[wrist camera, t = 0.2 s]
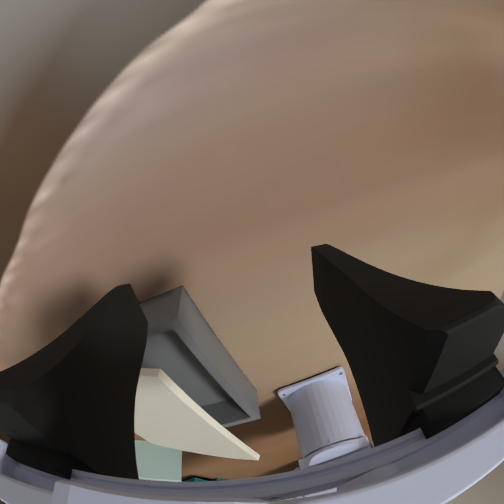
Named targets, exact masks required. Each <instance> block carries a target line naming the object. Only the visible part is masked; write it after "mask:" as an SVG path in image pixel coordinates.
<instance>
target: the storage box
mask: <svg viewBox="0 0 504 504" xmlns="http://www.w3.org/2000/svg"><path fill="white" fill-rule="evenodd" d="M139 304H140V306H141V309H142V311H143V313H144V315H145V317H146V319H147V321H148V333H147V343H146V348H145V353H144V357H143V362H142V366H141V368H154V369H161V370H162V371H163V372H164V373H165V374H166V375H167V376H168V377H169V378H170V379H171V380H172V381H173V382H174V383H175V384H176V385H177V386H178V387H179V388H180V389H181V390H183V391H184V392H185V393H186V394H187V395H188V396H189V397H190V398H191V399H192V400H193V401H194V402H195V403H196V404H197V405H199V406H200V407H201V408H202V409H203V410H204V411H205V412H206V413H208V414H209V415H210V416H211V417H212V418H213V419H214V420H216V421H217V422H218V423H219V424H220V425H222V426H223V427H224V428H225V427H229V426H234V425H238V424H242V423H246V422H250V421H254V420H257V419H261V416H260V410H259V403H258V397H257V390H256V389H255V387H254V386H253V385H252V383H251V382H250V381H249V379H248V378H247V377H246V376H245V374H244V373H243V372H242V370H241V369H240V368H239V366H238V365H237V364H236V362H235V361H234V359H233V358H232V357H231V355H230V354H229V353H228V351H227V350H226V348H225V347H224V346H223V344H222V343H221V341H220V340H219V339H218V337H217V336H216V334H215V333H214V332H213V330H212V329H211V327H210V326H209V324H208V323H207V321H206V320H205V318H204V317H203V316H202V314H201V313H200V311H199V310H198V308H197V307H196V305H195V304H194V302H193V301H192V299H191V298H190V296H189V294H188V293H187V291H186V290H185V288H184V287H183V286H181V287H178V288H176V289H173V290H171V291H168V292H166V293H163V294H161V295H158V296H156V297H154V298H151V299H149V300H146V301H144V302H141V303H139Z"/></svg>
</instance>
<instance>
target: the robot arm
mask: <svg viewBox="0 0 504 504" xmlns="http://www.w3.org/2000/svg"><path fill="white" fill-rule="evenodd" d="M311 252H312V265H313V278H314V291H315V294H316V297H317V300H318V302H319V305H320V308H321V310H322V312H323V314H324V316H325V318H326V320H327V322H328V324H329V326H330V328H331V329H332V331H333V333H334V335H335V337H336V339H337V341H338V343H339V344H340V346H341V348H342V350H343V352H344V354H345V356H346V358H347V361H348V363H349V366H350V368H351V371H352V374H353V377H354V379H355V382H356V385H357V388H358V391H359V394H360V397H361V400H362V403H363V407H364V410H365V413H366V417H367V420H368V424H369V428H370V432H371V436H372V440H373V441H370V444H371V446H370V444H369V441H368V438H367V436H365V435H364V432H363V430H362V427H361V424H360V422H359V419H358V417H357V414H356V412H355V409H354V407H353V404H352V398H351V394H350V390H349V387H348V383H347V379H346V376H345V372H344V369H343V367H337V368H335V369H332V370H330V371H327V372H325V373H322V374H320V375H317V376H315V377H312V378H310V379H307V380H304V381H301V382H299V383H296V384H293V385H290V386H287V387H284V388H281V389H279V390H278V391H277V392H278V395H279V397H280V398H281V399H282V401H283V402H284V404H285V405H286V407H287V408H288V409H289V411H290V412H291V415H292V419H293V424H294V428H295V432H296V436H297V441H298V445H299V449H300V453H301V458H302V459H300V460H298V463H299V467H297V468H295V469H294V471H290V472H284V473H279V474H273V475H267V476H260V477H253V478H244V479H235V480H222V481H203V482H168V481H149V480H139V477H138V470H137V463H136V453H135V438H134V415H135V398H136V390H137V385H138V380H139V375H140V371H141V366H142V362H143V357H144V353H145V348H146V343H147V333H148V321H147V319H146V317H145V315H144V313H143V311H142V309H141V306H140V304H139V302H138V300H137V298H136V296H135V293H134V291H133V289H132V287H131V285H130V284H125V285H120V286H117V287H115V288H114V289H112V290H111V291H110V292H109V293H107V294H106V295H105V296H104V297H103V298H102V299H101V300H99V301H98V302H97V303H96V304H95V305H94V306H93V307H92V308H91V309H90V310H89V311H88V312H86V313H85V314H84V315H83V316H82V317H81V318H80V319H79V320H78V321H76V322H75V323H74V324H73V325H72V326H71V327H70V328H69V329H67V330H66V331H65V332H64V333H63V334H61V335H60V336H59V337H58V338H56V339H55V340H54V341H52V342H51V343H50V344H48V345H47V346H45V347H44V348H42V349H41V350H39V351H38V352H36V353H35V354H33V355H32V356H30V357H28V358H27V359H25V360H23V361H21V362H20V363H18V364H16V365H14V366H12V367H10V368H8V369H6V370H3V371H1V372H0V430H1V431H2V432H3V433H5V434H6V435H7V436H8V437H9V438H10V441H9V444H8V443H6V442H5V441H3V440H1V439H0V500H2V501H3V502H5V503H6V504H445V503H447V502H449V501H450V500H452V499H453V498H455V497H456V496H458V495H459V494H461V493H462V492H464V491H465V490H467V489H468V488H469V487H471V486H472V485H474V484H475V483H476V482H478V481H479V480H480V479H482V478H483V477H484V476H485V475H487V474H488V473H489V472H491V471H492V470H493V469H494V468H495V467H496V466H498V465H499V464H500V463H501V462H502V461H504V368H503V369H502V370H501V372H499V371H498V369H497V368H496V367H495V366H496V365H497V364H498V359H497V358H496V356H495V355H494V354H493V353H494V351H495V348H496V347H497V345H498V343H499V341H500V339H501V337H502V335H503V333H504V304H503V302H502V301H501V300H499V299H498V298H497V297H496V296H495V295H494V294H493V293H492V292H491V291H474V290H460V289H452V288H445V287H439V286H434V285H429V284H425V283H421V282H416V281H413V280H409V279H406V278H403V277H400V276H397V275H394V274H391V273H388V272H386V271H383V270H381V269H378V268H376V267H374V266H371V265H369V264H367V263H365V262H363V261H361V260H359V259H357V258H355V257H353V256H351V255H349V254H347V253H345V252H343V251H341V250H339V249H337V248H335V247H333V246H330V245H328V244H323V245H318V246H314V247H311ZM290 498H294V499H291V500H285V499H290ZM279 500H283V501H279ZM272 501H274V502H272Z"/></svg>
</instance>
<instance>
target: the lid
mask: <svg viewBox="0 0 504 504" xmlns="http://www.w3.org/2000/svg"><path fill="white" fill-rule="evenodd" d="M134 432H135V433H136V434H138V435H139V436H141V437H142V438H144V439H145V440H147V441H148V442H150V443H152V444H155V445H159V446H164V447H168V448H173V449H177V450H182V451H187V452H193V453H199V454H205V455H211V456H219V457H227V458H236V459H246V460H259V457H260V455H259V454H257V453H256V452H255V451H253V450H252V449H251V448H249V447H248V446H247V445H245V444H244V443H243V442H241V441H240V440H239V439H238V438H236V437H235V436H234V435H233V434H231V433H230V432H229V431H228V430H226V429H225V428H224V427H223V426H222V425H220V424H219V423H218V422H217V421H216V420H214V419H213V418H212V417H211V416H210V415H209V414H208V413H206V412H205V411H204V410H203V409H202V408H201V407H200V406H199V405H197V404H196V403H195V402H194V401H193V400H192V399H191V398H190V397H189V396H188V395H187V394H186V393H185V392H184V391H183V390H181V389H180V388H179V387H178V386H177V385H176V384H175V383H174V382H173V381H172V380H171V379H170V378H169V377H168V376H167V375H166V374H165V373H164V372H163V371H162V370H161V369H154V368H141V371H140V375H139V380H138V385H137V390H136V398H135V415H134Z"/></svg>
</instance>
